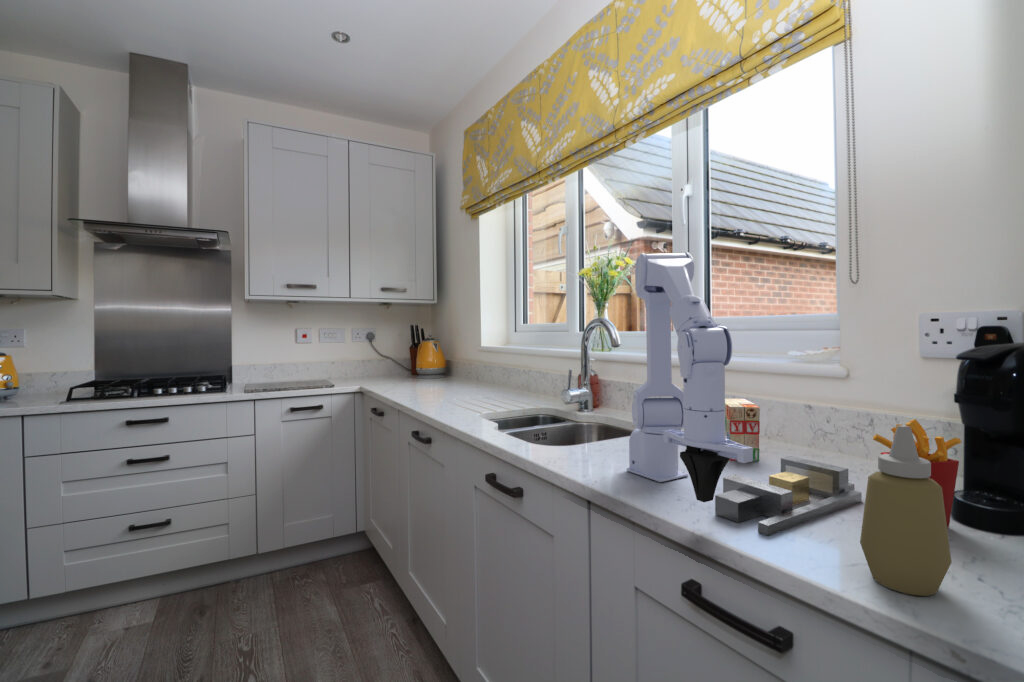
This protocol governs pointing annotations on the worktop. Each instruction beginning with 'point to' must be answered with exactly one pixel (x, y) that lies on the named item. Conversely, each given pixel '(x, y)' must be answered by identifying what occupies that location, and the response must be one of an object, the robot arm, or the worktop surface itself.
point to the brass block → (792, 485)
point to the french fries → (933, 461)
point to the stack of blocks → (743, 423)
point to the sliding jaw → (751, 499)
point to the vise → (821, 483)
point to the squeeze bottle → (905, 521)
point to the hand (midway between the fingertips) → (704, 499)
